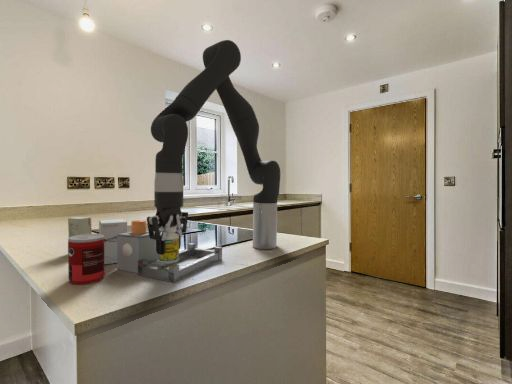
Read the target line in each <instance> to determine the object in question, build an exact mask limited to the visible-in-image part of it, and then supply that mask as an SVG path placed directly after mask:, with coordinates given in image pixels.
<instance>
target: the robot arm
mask: <svg viewBox="0 0 512 384" xmlns="http://www.w3.org/2000/svg"><path fill="white" fill-rule="evenodd" d="M241 61H242V56H241V51H240V48H239V47H238V45H237V43H235V42H234V41H233V40H229V39H224V40H221V41H218V42H215V43H214V44H211V45H210V46H208V47H206V48H205V49H204V50H203V53H202V62H203V65H204V68H203V70H202V71H201V72H200V73H199V74H198V75H196V76H195V77H193V79H191V80H190V81H189V82H188V83H187V84H186V85H185V86H184V87H183V88H182V90H181V91H180V92H179V93H178V94H177V96H176V97H175V98H174V100H173V101H172V102H171V103H170V104H169V105H168V106H166V107H165V108H164V109H163V110H161V112H160V113H158V115H156V117H154V119H153V121H152V122H151V126H150V134H151V136H152V138H153V139H154V140H155V141H157V142H159V143H161V144H162V148H161V150H159V151H158V152H156V154H155V162H154V163H155V164H154V166H155V167H154V168H155V169H154V171H155V173H154V174H155V175H154V185H153V186H154V193H153V195H154V197H153V198H154V201H153V202H154V206H153V207H154V208H156V212H155V214H154V215H153V216H147V217H146V225H147V228H148V230H147V231H149V237H150V239H155V240H156V252H157V254H160V255H163V254H165V237H166V233H167V232H168V231H169V228H170V227H173V226H176V232H175V233H177V234H178V235H179V250H180V249H181V239H182V238H181V237H182V236H183V234H184V233H186V232H187V228H188V220H189V212H188V211H187V212H186V211H182V210H181V208H182V207H184V178H183V177H184V176H183V165H184V164H183V162H184V161H183V157H184V155H185V150H186V146H187V143H188V142H187V141H188V136H189V127H188V124H187V122H189V121H191V120H193V119H194V118H195V117H196V116H197V114H198V113H199V111H200V110H201V109H202V108H203V106H204V105H205V103H206V102H207V100H208V99H210V97H211V96H212V94H214V92H215V91H216V92H217V94H218V97H219V99H220V100H221V103H222V106H223V108H224V110H225V112H226V115H227V118H228V119H229V122H230V126H231V128H232V131H233V133H234V135H235V137H236V140H237V142H238V145H239V148H240V150H241V153H242V156H243V158H244V163H245V165H246V169H247V171H248V175H249V178H250V180H251V181H252V182H253V183H254V184H256V185H261V186H262V189H261V190H260V192H258V193H255V194H254V195H253V197H252V198H253V207H252V210H253V211H252V216H253V217H252V247H253V248H254V249H260V250H272V249H277V235H278V233H277V232H278V230H277V229H278V227H277V226H278V198H279V195H280V189H281V188H280V187H281V167H280V165H279V163H278V161H276V160H262V158H261V156H260V154H259V151H258V139H259V136H260V135H259V134H260V125H259V121H258V118H257V116H256V113H255V109H254V108H253V106H252V105H251V104H250V103H249V101H247V99H246V98H245V97H244V96H243V95H241V94H240V92H239V91H238V90H237V89H236V88H235V86H234V84H233V82H232V80H231V77H230V75H231V74H233V73H234V72H235V71H236V70H237V69H238V68H239V66H240V64H241ZM161 227H164V228H161ZM154 232H155V234H154ZM160 234H161V236H160Z"/></svg>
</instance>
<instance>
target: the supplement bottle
mask: <svg viewBox="0 0 512 384" xmlns="http://www.w3.org/2000/svg"><path fill="white" fill-rule="evenodd" d="M161 228H164V227H161ZM175 232H176V226H173V227H170V228H169V231H168V232H167V233H166V237H165V254H163V255H160V254H159V262H160V263H164V264H169V263H174V264H176V263H178V262H177V261H178V260H179V251H180V249H179V235H178V234H177V233H175ZM161 234H162V233H161ZM161 234H160V236H161ZM175 262H176V263H175Z"/></svg>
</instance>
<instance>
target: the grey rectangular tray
mask: <svg viewBox="0 0 512 384" xmlns="http://www.w3.org/2000/svg"><path fill="white" fill-rule="evenodd" d="M191 257H196V258H198V259H196V260H193V261H191V262H189V263H187V264H186V263H185V264H184V265H182V266H180V265H179V264H176V263H179V262H181V261H184V260H187V259H189V258H191ZM222 259H223V246H215V247H214V248H213V249H208V248H200V247H196V242H195V243H193V242H190V243H187V248H186V249H183V250H179V260H178V261H177V262H175V263H169V264H164V263H160V262H159V259H157V260H154V261H151V262H148V259H140V260H138V273H137V276H141V277H145V278H149V279H155V280H158V281H165V282H170V283H177V282H178V281H180V280H183V279H184V278H186V277H189V276H190V275H192V274H194V273H197V272H198V271H200V270H202V269H205V268H206V267H209V266H211V265H213V264H214V263H217V262H218V261H219V262H220V261H222Z"/></svg>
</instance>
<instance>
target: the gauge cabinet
mask: <svg viewBox="0 0 512 384" xmlns="http://www.w3.org/2000/svg"><path fill="white" fill-rule="evenodd" d="M154 234H155V232H154ZM140 259H148V262H151V261H154V260H157V259H159V254H157V252H156V240H155V239H150V237H149V231H148V230H146V234H142V235H132V234H131V231H127V232H126V233H121V234H117V262H118V263H117V270H121V271H126V272H129V273H130V272H131V273H135V274H138V260H140Z"/></svg>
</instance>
